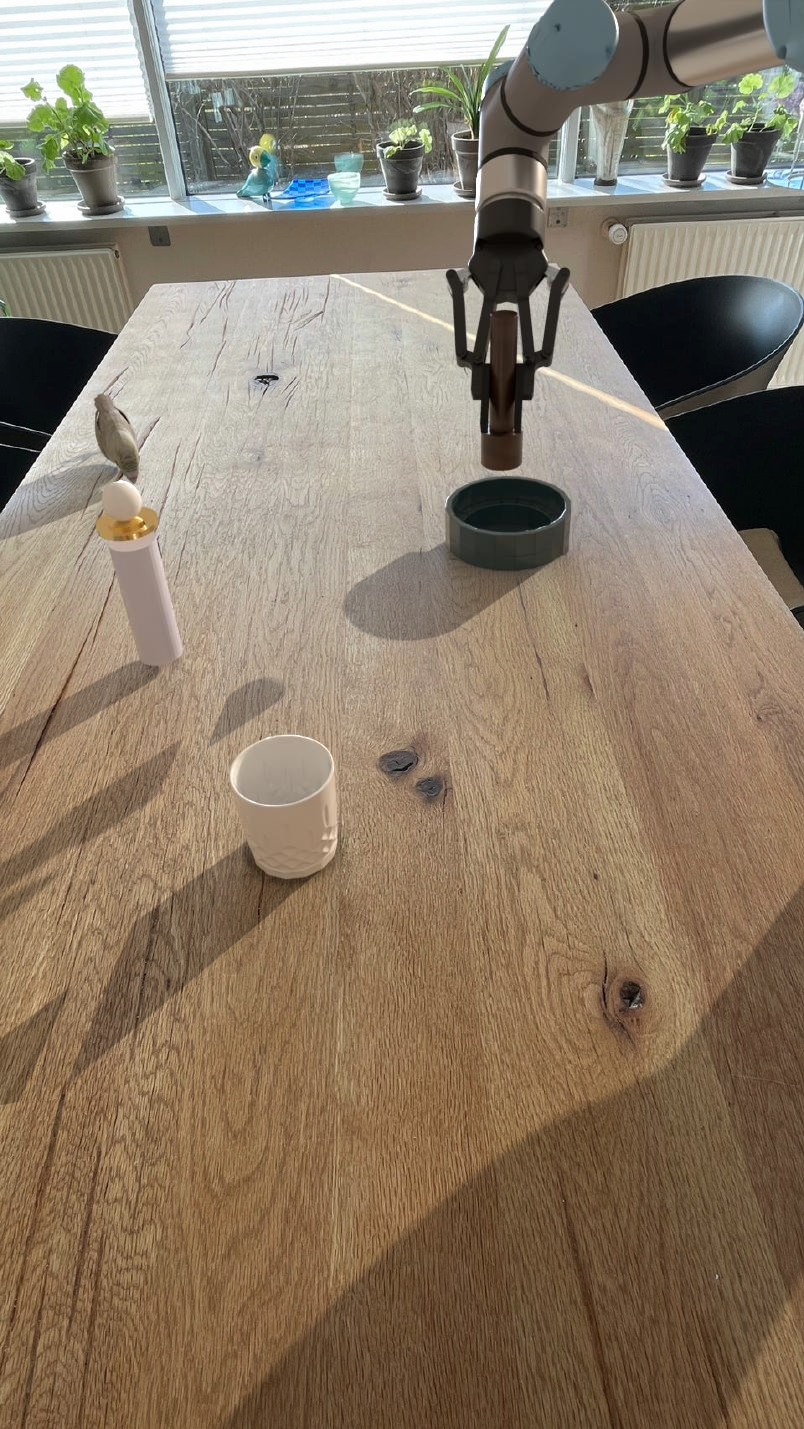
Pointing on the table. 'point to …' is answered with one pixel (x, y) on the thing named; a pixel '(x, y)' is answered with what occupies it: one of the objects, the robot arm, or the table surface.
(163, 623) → the perfume bottle
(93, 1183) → the table surface
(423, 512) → the table surface
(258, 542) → the table surface
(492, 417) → the brown pestle
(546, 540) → the bowl
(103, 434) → the decorative bird
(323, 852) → the white cup
